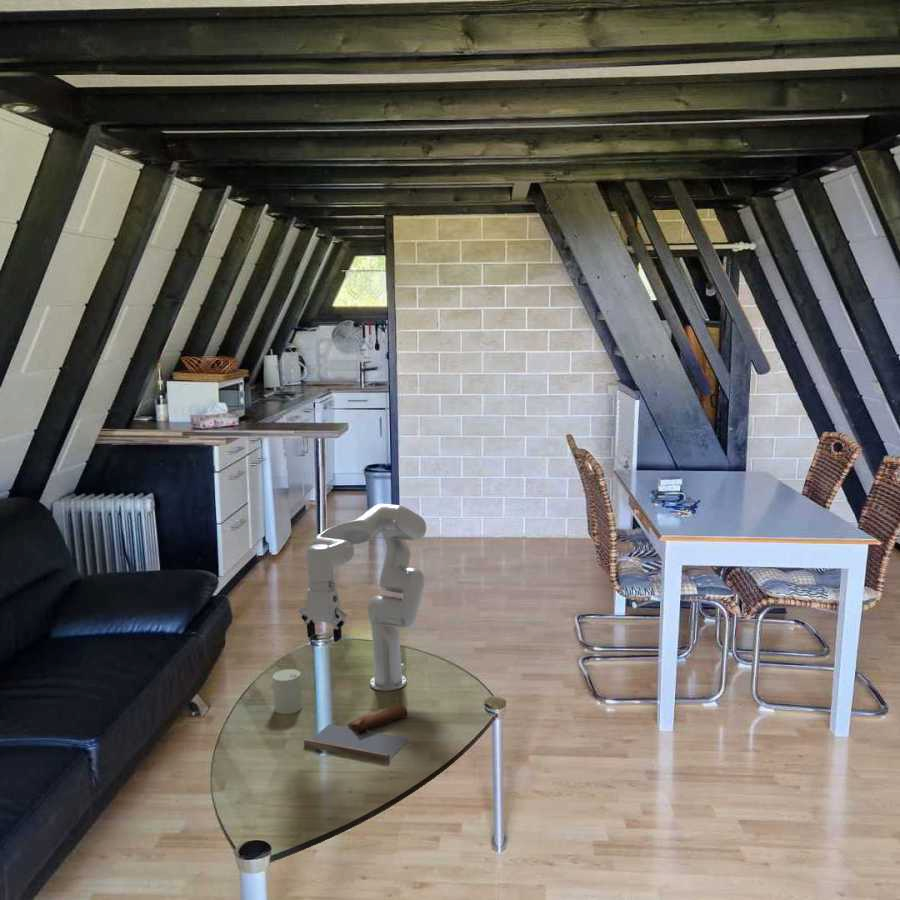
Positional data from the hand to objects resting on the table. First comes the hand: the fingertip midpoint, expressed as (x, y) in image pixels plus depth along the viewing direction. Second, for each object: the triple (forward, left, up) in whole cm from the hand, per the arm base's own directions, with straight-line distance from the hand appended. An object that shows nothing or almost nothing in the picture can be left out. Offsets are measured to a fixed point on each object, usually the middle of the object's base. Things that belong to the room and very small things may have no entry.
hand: (324, 638), depth 256 cm
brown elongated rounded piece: (-5, +14, -28) cm, 32 cm away
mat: (+7, +14, -28) cm, 32 cm away
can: (-5, -19, -29) cm, 35 cm away
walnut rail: (+14, +14, -28) cm, 35 cm away
